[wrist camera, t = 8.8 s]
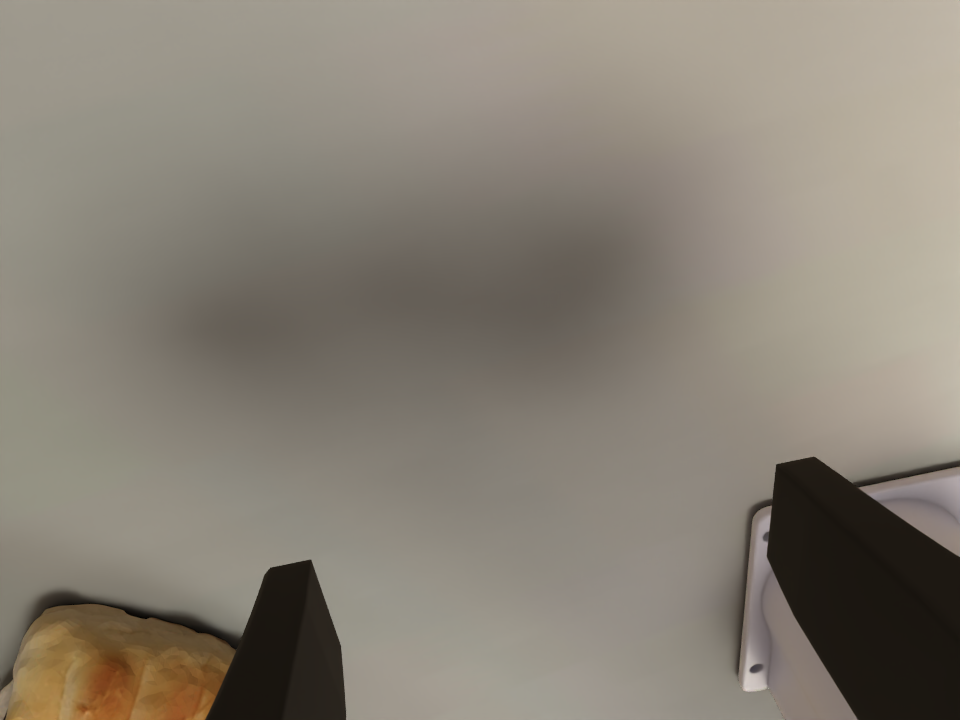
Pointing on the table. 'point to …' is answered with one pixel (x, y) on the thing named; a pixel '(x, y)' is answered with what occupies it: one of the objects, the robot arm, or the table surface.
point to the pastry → (113, 668)
